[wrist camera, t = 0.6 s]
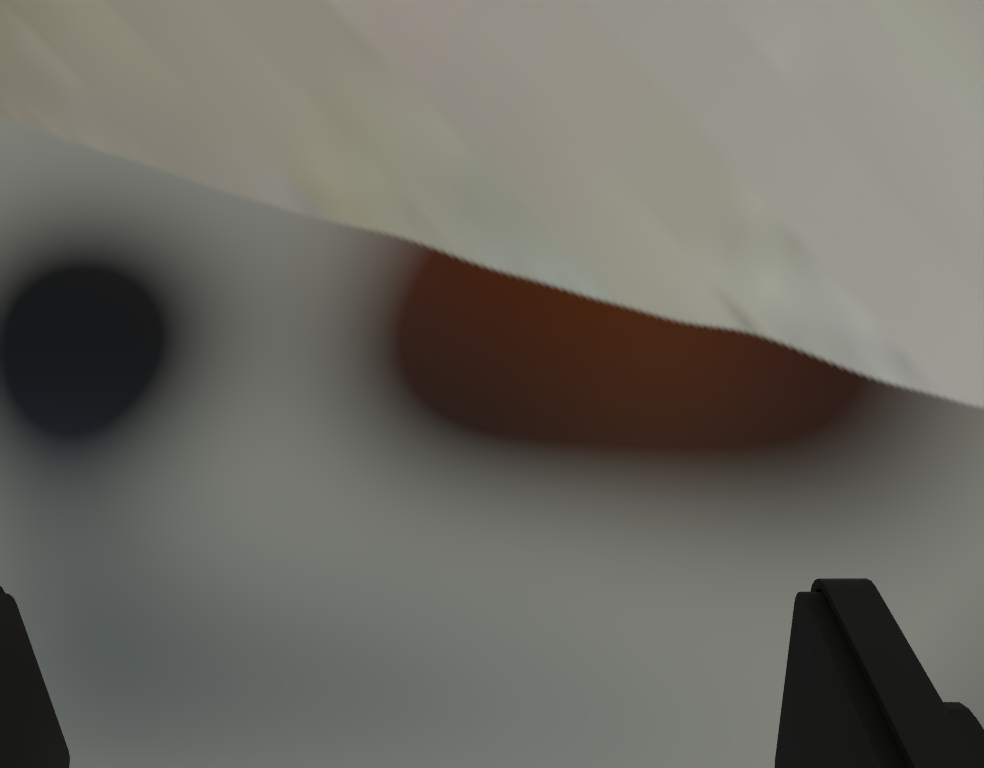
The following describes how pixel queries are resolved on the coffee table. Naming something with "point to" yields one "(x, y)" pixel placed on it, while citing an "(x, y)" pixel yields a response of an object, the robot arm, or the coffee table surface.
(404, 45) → the coffee table surface
